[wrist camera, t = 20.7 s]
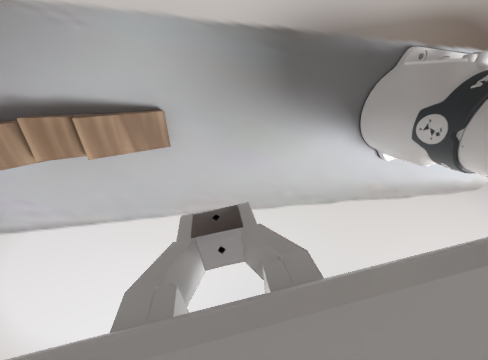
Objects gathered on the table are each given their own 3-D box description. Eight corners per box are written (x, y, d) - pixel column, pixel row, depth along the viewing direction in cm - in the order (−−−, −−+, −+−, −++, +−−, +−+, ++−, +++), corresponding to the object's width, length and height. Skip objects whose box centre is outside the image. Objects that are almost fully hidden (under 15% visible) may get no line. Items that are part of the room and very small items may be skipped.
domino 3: (163, 111, 27) (72, 118, 22) (170, 146, 29) (88, 159, 25) (161, 109, 28) (74, 116, 24) (167, 143, 31) (89, 155, 26)
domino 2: (122, 114, 26) (16, 118, 21) (130, 150, 28) (36, 161, 23) (121, 112, 27) (22, 116, 23) (129, 147, 30) (40, 157, 25)
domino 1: (67, 116, 25) (-61, 130, 19) (83, 153, 27) (-27, 175, 22) (66, 114, 26) (-54, 128, 21) (82, 150, 29) (-23, 170, 23)
